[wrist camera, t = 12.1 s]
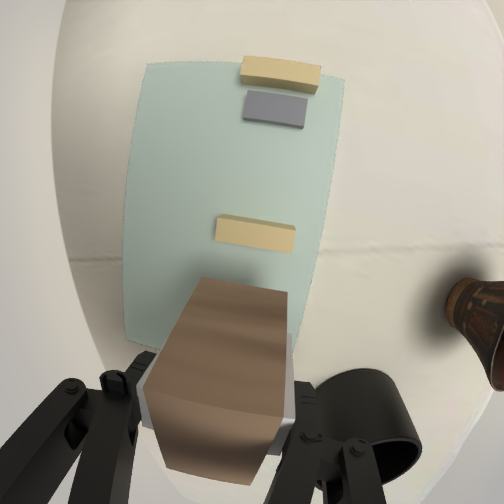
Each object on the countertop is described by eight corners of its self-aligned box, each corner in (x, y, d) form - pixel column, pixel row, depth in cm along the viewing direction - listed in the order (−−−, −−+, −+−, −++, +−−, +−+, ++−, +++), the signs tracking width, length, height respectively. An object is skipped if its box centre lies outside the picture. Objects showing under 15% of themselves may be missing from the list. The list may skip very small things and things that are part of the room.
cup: (505, 245, 19) (573, 277, 9) (484, 327, 21) (535, 378, 11) (443, 240, 19) (521, 280, 10) (422, 335, 22) (472, 403, 12)
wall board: (152, 67, 18) (136, 55, 15) (342, 83, 17) (351, 70, 14) (130, 334, 24) (115, 350, 21) (286, 368, 24) (286, 389, 21)
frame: (198, 276, 14) (138, 385, 8) (287, 291, 14) (283, 417, 7) (196, 374, 18) (163, 467, 11) (263, 387, 18) (250, 485, 11)
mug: (299, 443, 26) (301, 506, 18) (312, 369, 23) (322, 447, 15) (375, 437, 26) (390, 494, 17) (405, 363, 23) (440, 427, 14)
